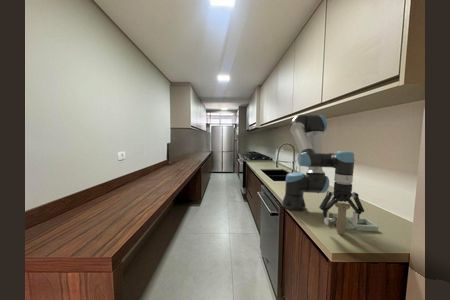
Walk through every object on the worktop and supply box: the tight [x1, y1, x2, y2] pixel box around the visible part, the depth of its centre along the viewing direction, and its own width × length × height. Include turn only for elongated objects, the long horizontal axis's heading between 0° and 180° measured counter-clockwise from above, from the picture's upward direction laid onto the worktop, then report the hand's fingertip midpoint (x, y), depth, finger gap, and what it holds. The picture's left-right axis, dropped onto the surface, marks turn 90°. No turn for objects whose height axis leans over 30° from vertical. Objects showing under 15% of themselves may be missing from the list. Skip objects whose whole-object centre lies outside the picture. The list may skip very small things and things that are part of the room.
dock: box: [332, 213, 379, 232], centre depth 100 cm, size 10×18×5 cm, turn 86°
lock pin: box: [328, 217, 337, 224], centre depth 101 cm, size 3×7×3 cm, turn 86°
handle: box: [334, 201, 351, 235], centre depth 91 cm, size 5×6×15 cm
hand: (340, 224), depth 91 cm, fingers open, 13 cm apart
